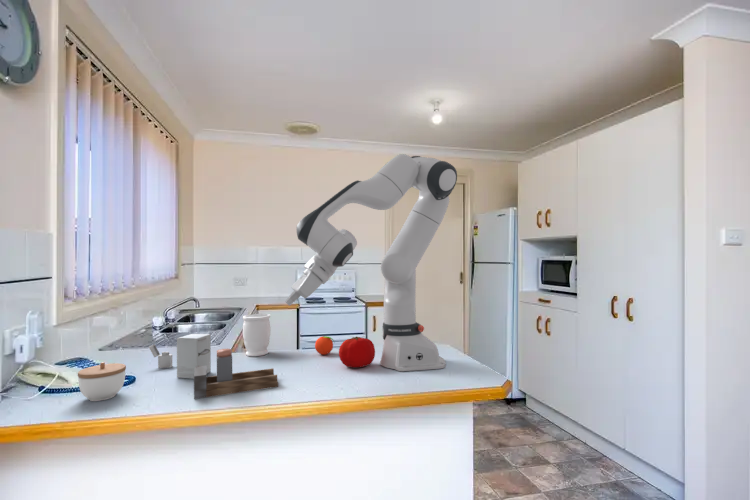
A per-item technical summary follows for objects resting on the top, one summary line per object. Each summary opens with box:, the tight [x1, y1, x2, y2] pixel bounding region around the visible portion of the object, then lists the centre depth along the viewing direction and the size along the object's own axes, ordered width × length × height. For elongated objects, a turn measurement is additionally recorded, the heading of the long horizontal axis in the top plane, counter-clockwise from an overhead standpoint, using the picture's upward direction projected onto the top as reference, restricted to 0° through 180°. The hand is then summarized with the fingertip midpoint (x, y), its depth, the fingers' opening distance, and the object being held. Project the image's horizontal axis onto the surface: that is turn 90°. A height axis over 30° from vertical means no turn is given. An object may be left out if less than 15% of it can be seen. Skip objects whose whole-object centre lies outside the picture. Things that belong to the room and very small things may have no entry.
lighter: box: [148, 343, 173, 369], centre depth 133 cm, size 7×2×8 cm, turn 96°
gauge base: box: [193, 366, 279, 400], centre depth 112 cm, size 22×10×6 cm, turn 113°
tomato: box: [338, 336, 376, 369], centre depth 131 cm, size 11×13×10 cm
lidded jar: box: [77, 361, 127, 402], centre depth 105 cm, size 11×11×9 cm
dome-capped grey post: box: [216, 348, 233, 382], centre depth 110 cm, size 4×5×9 cm
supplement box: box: [176, 333, 212, 380], centre depth 124 cm, size 7×7×13 cm
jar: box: [242, 313, 271, 357], centre depth 150 cm, size 11×10×15 cm
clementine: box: [314, 335, 336, 356], centre depth 148 cm, size 8×7×7 cm
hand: (287, 303), depth 121 cm, fingers closed
